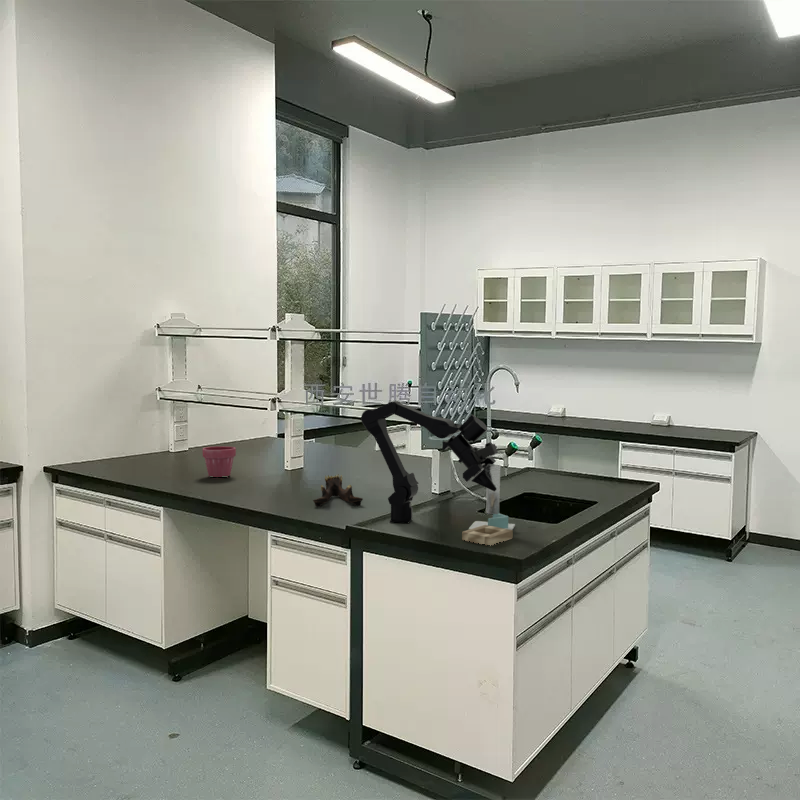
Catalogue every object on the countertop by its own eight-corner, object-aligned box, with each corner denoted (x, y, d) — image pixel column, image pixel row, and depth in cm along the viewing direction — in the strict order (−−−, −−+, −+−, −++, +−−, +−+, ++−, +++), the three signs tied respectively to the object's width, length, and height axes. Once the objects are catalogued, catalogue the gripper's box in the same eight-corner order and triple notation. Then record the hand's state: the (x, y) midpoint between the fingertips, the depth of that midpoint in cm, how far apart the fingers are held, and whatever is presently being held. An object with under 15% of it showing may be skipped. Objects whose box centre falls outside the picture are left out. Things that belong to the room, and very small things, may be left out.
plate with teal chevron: (468, 530, 229) (468, 517, 229) (475, 522, 240) (475, 510, 239) (510, 533, 225) (510, 520, 225) (514, 525, 236) (515, 513, 236)
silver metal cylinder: (488, 514, 227) (489, 466, 226) (484, 511, 231) (485, 464, 229) (500, 513, 227) (502, 466, 226) (496, 511, 231) (498, 464, 230)
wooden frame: (462, 540, 218) (462, 531, 217) (484, 532, 227) (485, 524, 227) (490, 546, 211) (490, 537, 211) (512, 538, 220) (512, 530, 220)
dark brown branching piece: (365, 501, 285) (370, 477, 284) (358, 520, 261) (363, 493, 259) (322, 492, 286) (327, 467, 284) (310, 510, 262) (315, 483, 260)
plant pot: (215, 473, 331) (215, 445, 330) (242, 475, 326) (242, 446, 325) (196, 478, 318) (195, 448, 317) (223, 480, 313) (223, 450, 312)
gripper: (473, 437, 220) (508, 477, 217) (490, 431, 237) (523, 468, 234) (448, 461, 224) (482, 500, 220) (466, 454, 241) (498, 490, 237)
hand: (497, 489), depth 228 cm, fingers closed on silver metal cylinder, 4 cm apart
